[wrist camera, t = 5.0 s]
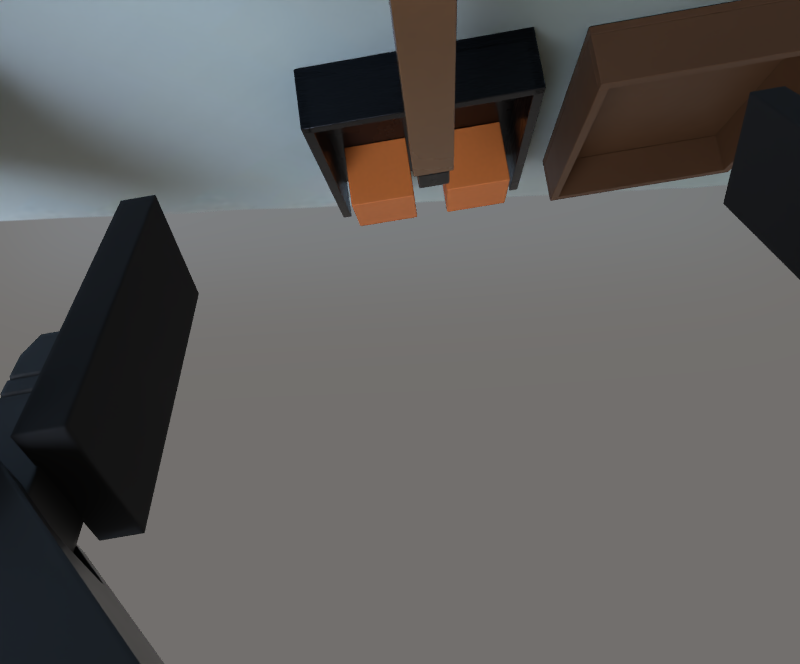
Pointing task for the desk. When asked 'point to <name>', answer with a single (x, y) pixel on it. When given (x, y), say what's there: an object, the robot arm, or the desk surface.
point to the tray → (668, 94)
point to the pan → (422, 95)
